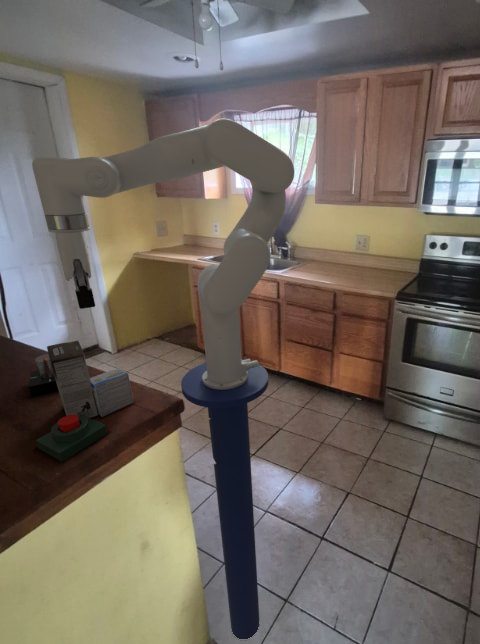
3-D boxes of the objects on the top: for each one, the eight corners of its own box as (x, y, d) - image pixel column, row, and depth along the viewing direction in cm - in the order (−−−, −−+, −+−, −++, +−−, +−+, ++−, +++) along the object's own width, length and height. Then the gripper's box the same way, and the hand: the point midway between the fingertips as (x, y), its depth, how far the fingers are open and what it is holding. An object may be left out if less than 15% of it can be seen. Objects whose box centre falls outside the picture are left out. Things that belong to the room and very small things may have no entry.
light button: (73, 419, 79) (71, 412, 78) (83, 424, 77) (81, 417, 77) (56, 428, 76) (53, 421, 75) (66, 434, 74) (64, 427, 74)
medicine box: (125, 396, 94) (119, 366, 90) (134, 403, 91) (128, 372, 88) (93, 410, 88) (85, 379, 85) (102, 417, 86) (94, 385, 82)
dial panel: (71, 373, 105) (69, 363, 103) (73, 387, 98) (70, 377, 96) (33, 381, 100) (30, 371, 99) (32, 397, 93) (28, 386, 92)
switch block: (84, 422, 84) (80, 407, 82) (107, 433, 80) (104, 418, 79) (38, 448, 76) (33, 432, 74) (62, 462, 72) (57, 445, 71)
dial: (40, 372, 98) (35, 354, 96) (60, 369, 100) (55, 351, 98) (39, 380, 95) (33, 361, 93) (59, 376, 97) (54, 358, 95)
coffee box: (63, 406, 89) (46, 345, 83) (93, 397, 93) (78, 339, 87) (67, 425, 83) (49, 360, 76) (99, 415, 86) (84, 353, 80)
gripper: (47, 220, 81) (67, 300, 88) (45, 228, 69) (69, 320, 76) (86, 218, 84) (102, 296, 92) (91, 226, 73) (109, 313, 80)
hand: (87, 306), depth 84 cm, fingers closed
